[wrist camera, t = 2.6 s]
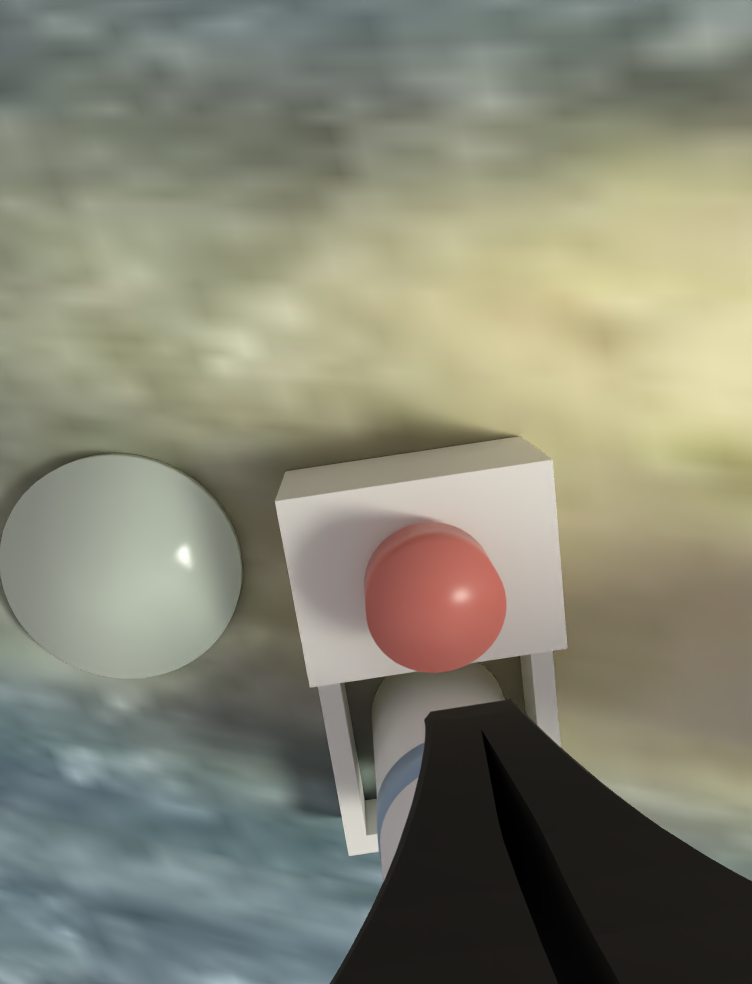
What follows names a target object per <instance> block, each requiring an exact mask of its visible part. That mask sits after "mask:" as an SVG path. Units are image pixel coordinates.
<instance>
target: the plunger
mask: <svg viewBox="0 0 752 984" xmlns="http://www.w3.org/2000/svg"><path fill="white" fill-rule="evenodd" d="M364 594H365V607H366V619H367V624H368V628H369V631H370V633H371V636H372V638H373V639H374V641H375V643H376V644H377V646H378V647H379V648H380V650H381V651H382V652H383V653H384V654H385V655H386V656H388V657H389V658H390V659H392V660H393V661H394V662H396V663H398V664H400V665H401V666H404V667H406V668H408V669H412V670H415V671H420V672H427V673H439V672H447V671H451V670H455V669H458V668H461V667H463V666H466V665H468V664H470V663H471V662H473V661H475V660H476V659H478V658H479V657H480V656H481V655H483V654H484V653H485V652H486V651H487V650H488V649H489V648H490V647H491V646H492V644H493V643H494V642H495V640H496V639H497V637H498V635H499V633H500V631H501V629H502V626H503V624H504V620H505V616H506V594H505V589H504V586H503V583H502V581H501V579H500V577H499V575H498V573H497V571H496V569H495V568H494V566H493V564H492V562H491V561H490V559H489V557H488V556H487V554H486V552H485V551H484V549H483V548H482V546H481V545H480V544H479V543H478V542H477V540H476V539H474V538H473V537H472V536H471V535H470V534H468V533H467V532H465V531H463V530H462V529H460V528H457V527H455V526H452V525H449V524H445V523H439V522H423V523H417V524H412V525H409V526H407V527H404V528H402V529H400V530H398V531H396V532H394V533H393V534H391V535H390V536H388V537H387V538H386V539H385V540H384V541H383V542H382V543H381V544H380V545H379V546H378V547H377V549H376V550H375V551H374V553H373V554H372V556H371V558H370V560H369V562H368V565H367V568H366V572H365V577H364Z"/></svg>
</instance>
